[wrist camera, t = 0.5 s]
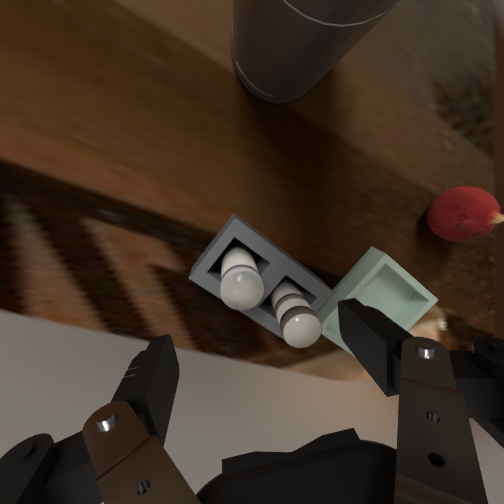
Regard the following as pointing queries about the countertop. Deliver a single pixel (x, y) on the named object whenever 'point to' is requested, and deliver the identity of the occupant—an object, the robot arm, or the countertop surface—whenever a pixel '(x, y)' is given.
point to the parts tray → (377, 294)
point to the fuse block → (259, 271)
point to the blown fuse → (294, 315)
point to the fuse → (240, 278)
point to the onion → (463, 214)
